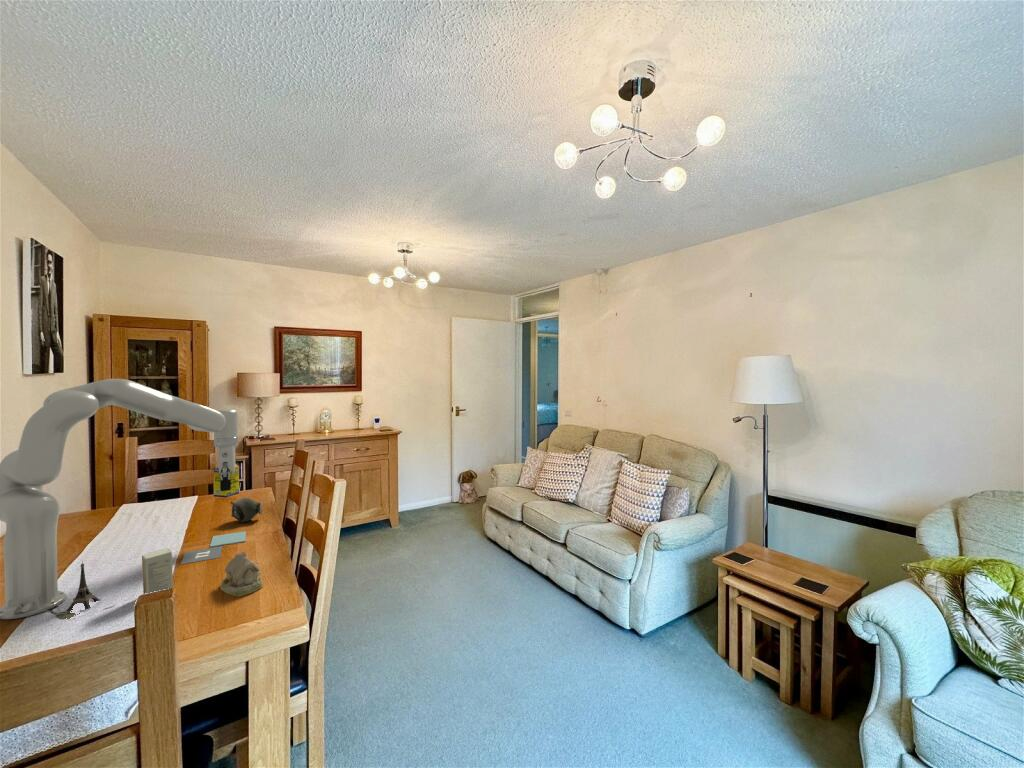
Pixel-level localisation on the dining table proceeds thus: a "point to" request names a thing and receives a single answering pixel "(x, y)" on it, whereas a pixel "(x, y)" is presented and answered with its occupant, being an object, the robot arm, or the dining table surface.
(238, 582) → the ceramic model
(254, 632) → the dining table surface
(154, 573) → the skincare box
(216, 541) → the rubber mat
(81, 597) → the eiffel tower figurine
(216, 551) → the card
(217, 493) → the supplement box
